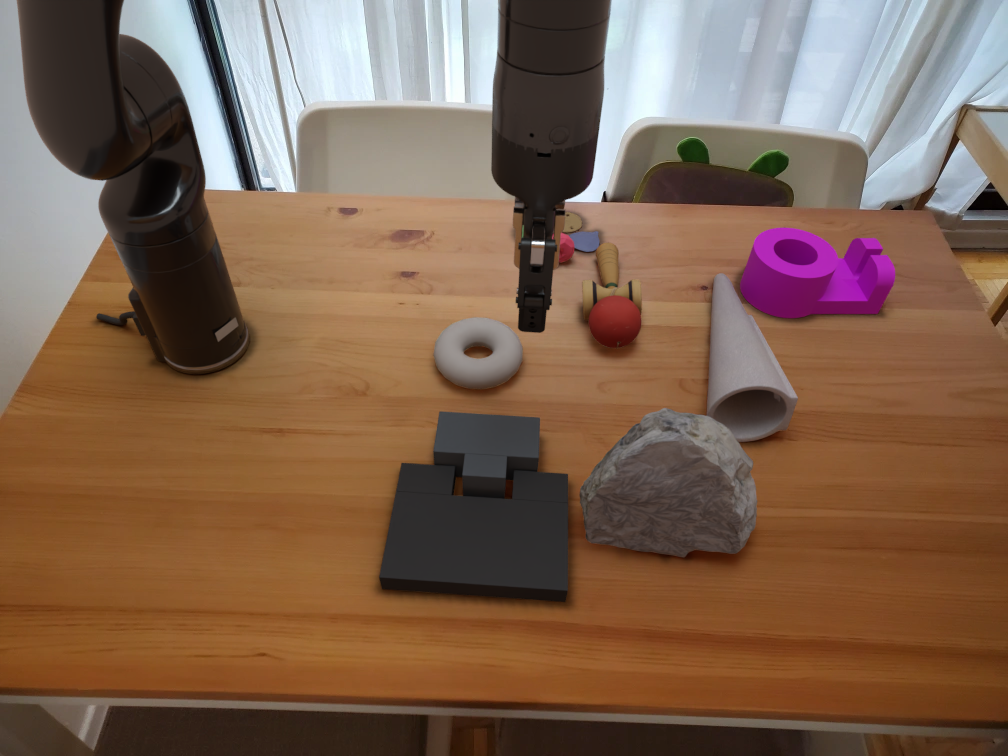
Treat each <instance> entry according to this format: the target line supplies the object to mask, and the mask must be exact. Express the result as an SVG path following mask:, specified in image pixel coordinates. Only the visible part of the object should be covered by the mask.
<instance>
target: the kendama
mask: <svg viewBox="0 0 1008 756" xmlns="http://www.w3.org/2000/svg"><path fill="white" fill-rule="evenodd" d="M595 259H596V261H597V265H598V266H597V267H598V271H599V275H600V280H601V283H602V285H603V286H601V285H599V284H598V283H596V282H595V281H594V280H593V279H585V280H582V282H581V287H582V289H581V290H582V291H581V292H582V311H583V313H582V314H583V320H584V321H588V328H589V332H590V334H591V336H592V338H593V339H594V340H595V341H596V342H597V343H598V344H599V345H601V346H603V347H606V348H609V349H616V350H618V349H621V348H624V347H627V346H628V345H631V343H633V342H634V341H635V340H636V339H637V337H638V336H639V333H640V331H641V329H642V320H643V319H642V314H643V302H642V301H643V297H642V295H643V294H642V284H641V279H636V278H635V279H633V278H632V279H631V280H629V281H628V282H627V283H626V284H623V285H622V286H619V279H620V273H619V272H620V271H619V269H620V268H619V266H620V265H619V248H618V247H617V245H616V244H614V243H612V242H603V243H601V244H599V247H598V248H597V249H596V250H595Z"/></svg>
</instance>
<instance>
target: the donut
mask: <svg viewBox="0 0 1008 756" xmlns="http://www.w3.org/2000/svg"><path fill="white" fill-rule="evenodd" d="M473 347H483V348H487V349H488V350H490V351H492V353H491V354H490V355H488V356H486V357H482V358H474V357H471V356H469V355H467V354H465V351H466V350H468V349H470V348H473ZM523 348H524V347H523V345H522V342H521V340H520V337H519V336H518V334H517V333H516V332H515V330H513V329H512V328H511V327H510V326H508V325H507V324H505V323H504V322H502V321H500V320H496V319H493V318H490V317H480V316H479V317H478V316H473V317H467V318H463V319H460V320H458V321H454V322H453V323H450V325H448V326H447V327H445V328H444V329H443V330H442V331H441V332H440V334H439V335H438V337H437V339H436V340H435V342H434V349H433V355H432V356H433V359H434V362H435V365H436V366H435V367H436V369H437V370H438V371H439V372H440V374H441V375H442V376H443V377H444V378H445V379H446V380H448V381H449V382H451V383H453V384H454V385H456V386H459V387H461V388H464V389H469V390H471V389H472V390H487V389H490V388H496V387H498V386H500V385H502V384H504V383H506V382H508V381H509V380H510V379H511V378H512V377H513V376H514V375H515V374H516V373H517V372H518V371H519V368H520V366H521V364H522V362H523V356H524V355H523V354H524V353H523V352H524V349H523Z"/></svg>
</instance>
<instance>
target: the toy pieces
mask: <svg viewBox="0 0 1008 756" xmlns="http://www.w3.org/2000/svg"><path fill="white" fill-rule="evenodd" d="M523 226H524V225H523ZM582 226H583V221H582V218H581V217H580V216H579V215H577V214H576V213H573V212H570V211H566V214H565V228H564V230H563V231H562V233H561V238H560V252H559V264H561V263H565V262H567V261H569V260H570V259H571V258H572V257H573V256H574V254H575V249H576V250H579V251H582V252H586V253H589V252H594V251H596V250H597V248H598V247H599V246H600V237H599V231H598V230H595V231H578V230H580V229H581V228H582ZM523 229H524V227H523ZM523 229H522V237H523ZM566 233H567V234H566ZM568 233H571V234H569V235H568ZM553 235H554V232H553ZM552 239H553V237H552Z"/></svg>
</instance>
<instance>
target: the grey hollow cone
mask: <svg viewBox="0 0 1008 756" xmlns="http://www.w3.org/2000/svg"><path fill="white" fill-rule="evenodd" d="M708 358H709V359H708V381H707V383H708V384H707V397H706V416H709V417H711V418H713V419H714V420H715V421H717V422H719V423H722V424H723V425H725V426H726V427H727V428H728V429H730V431H731V432H732V434H733V435H734V437H735V439H736V440H737V441H738V442H739V443H746V442H747V443H748V442H754V441H758V440H761V439H765V438H767V437H770V436H771V435H774V434H775V433H777V432H779V431H787V430H788V428H789V425H790V423H791V420H792V417H793V416H794V412H795V409H796V406H797V403H798V400H799V397H798V395H797V393H796V391H795V390H794V388H793V386H792V384H791V383H790V380H789V379H788V377H787V375H786V374H785V371H784V370H783V368H782V366H781V364H780V363H779V361H778V359H777V357H776V355H775V353H774V352H773V350H772V348H771V347H770V345H769V343H768V342H767V340H766V337H765V335H764V334H763V333H762V331H761V329H760V326H758V324H757V321H756V320H755V318H754V316H753V314H748V312H747V310H746V308H745V307H744V305H743V303H742V301H741V299H740V297H739V295H738V293H737V291H736V290H735V287H734V285H733V282H732V281H731V279H730V278H729V276H728V275H726V274H725V273H723V272H720V273H717V274H715V276H714V278H713V284H712V294H711V313H710V335H709V357H708Z"/></svg>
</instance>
